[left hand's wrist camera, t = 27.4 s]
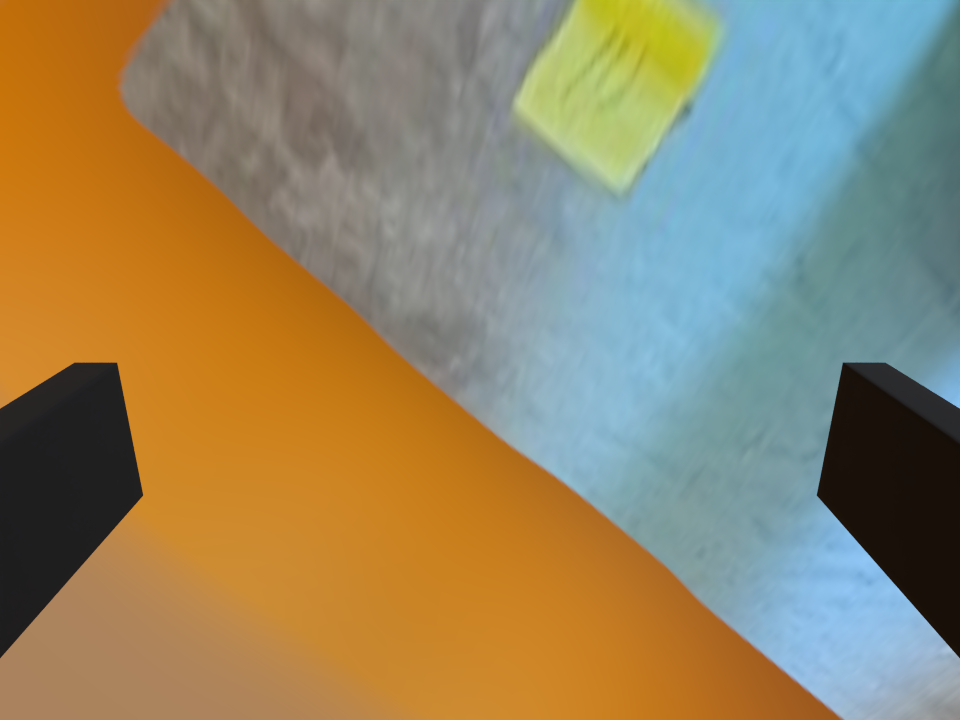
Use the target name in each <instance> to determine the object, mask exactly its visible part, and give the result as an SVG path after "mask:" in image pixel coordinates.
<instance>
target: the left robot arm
mask: <svg viewBox="0 0 960 720" xmlns="http://www.w3.org/2000/svg"><path fill="white" fill-rule="evenodd" d="M142 496H143V492H142V487H141V482H140V477H139V472H138V467H137V462H136V457H135V452H134V446H133V442H132V436H131V431H130V426H129V421H128V416H127V411H126V406H125V401H124V396H123V391H122V386H121V380H120V375H119V370H118V365H117V363H74V364H72V365H70V366H69V367H67V368H65V369H64V370H62V371H61V372H59V373H57V374H56V375H54V376H52V377H51V378H49V379H48V380H46V381H44V382H43V383H41V384H39V385H38V386H36V387H35V388H33V389H31V390H30V391H28V392H27V393H25V394H23V395H22V396H20V397H18V398H17V399H15V400H14V401H12V402H10V403H9V404H7V405H6V406H4V407H2V408H1V409H0V658H1V657H2V655H3V654H4V653H5V652H6V651H7V650H8V649H9V648H10V646H11V645H12V644H13V643H14V642H15V641H16V640H17V638H18V637H19V636H20V635H21V634H22V633H23V632H24V630H25V629H26V628H27V627H28V626H29V625H30V624H31V622H32V621H33V620H34V619H35V618H36V617H37V616H38V615H39V613H40V612H41V611H42V610H43V609H44V608H45V607H46V605H47V604H48V603H49V602H50V601H51V600H52V599H53V597H54V596H55V595H56V594H57V593H58V592H59V591H60V589H61V588H62V587H63V586H64V585H65V584H66V583H67V581H68V580H69V579H70V578H71V577H72V576H73V575H74V573H75V572H76V571H77V570H78V569H79V568H80V567H81V565H82V564H83V563H84V562H85V561H86V560H87V559H88V558H89V556H90V555H91V554H92V553H93V552H94V551H95V550H96V549H97V547H98V546H99V545H100V544H101V543H102V542H103V541H104V539H105V538H106V537H107V536H108V535H109V534H110V533H111V531H112V530H113V529H114V528H115V527H116V526H117V525H118V523H119V522H120V521H121V520H122V519H123V518H124V517H125V515H126V514H127V513H128V512H129V511H130V510H131V509H132V508H133V506H134V505H135V504H136V503H137V502H138V501H139V500H140V498H141V497H142ZM817 496H818V497H819V498H820V500H821V501H822V502H823V503H824V504H825V505H826V506H827V508H828V509H829V510H830V511H831V512H832V513H833V514H834V515H835V517H836V518H837V519H838V520H839V521H840V522H841V523H842V525H843V526H844V527H845V528H846V529H847V530H848V531H849V533H850V534H851V535H852V536H853V537H854V538H855V539H856V541H857V542H858V543H859V544H860V545H861V546H862V547H863V549H864V550H865V551H866V552H867V553H868V554H869V555H870V556H871V558H872V559H873V560H874V561H875V562H876V563H877V564H878V566H879V567H880V568H881V569H882V570H883V571H884V572H885V574H886V575H887V576H888V577H889V578H890V579H891V580H892V582H893V583H894V584H895V585H896V586H897V587H898V588H899V589H900V591H901V592H902V593H903V594H904V595H905V596H906V597H907V599H908V600H909V601H910V602H911V603H912V604H913V605H914V607H915V608H916V609H917V610H918V611H919V612H920V613H921V615H922V616H923V617H924V618H925V619H926V620H927V621H928V623H929V624H930V625H931V626H932V627H933V628H934V629H935V630H936V632H937V633H938V634H939V635H940V636H941V637H942V638H943V640H944V641H945V642H946V643H947V644H948V645H949V646H950V648H951V649H952V650H953V651H954V652H955V653H956V654H957V656H958V657H959V658H960V409H959V408H958V407H956V406H954V405H953V404H951V403H950V402H948V401H946V400H945V399H943V398H942V397H940V396H938V395H937V394H935V393H933V392H932V391H930V390H929V389H927V388H925V387H924V386H922V385H921V384H919V383H917V382H916V381H914V380H912V379H911V378H909V377H908V376H906V375H904V374H903V373H901V372H900V371H898V370H896V369H895V368H893V367H891V366H890V365H888V364H887V363H843V365H842V370H841V375H840V380H839V386H838V391H837V396H836V401H835V406H834V411H833V416H832V421H831V426H830V431H829V436H828V441H827V446H826V452H825V457H824V462H823V467H822V472H821V477H820V482H819V487H818V492H817Z"/></svg>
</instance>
